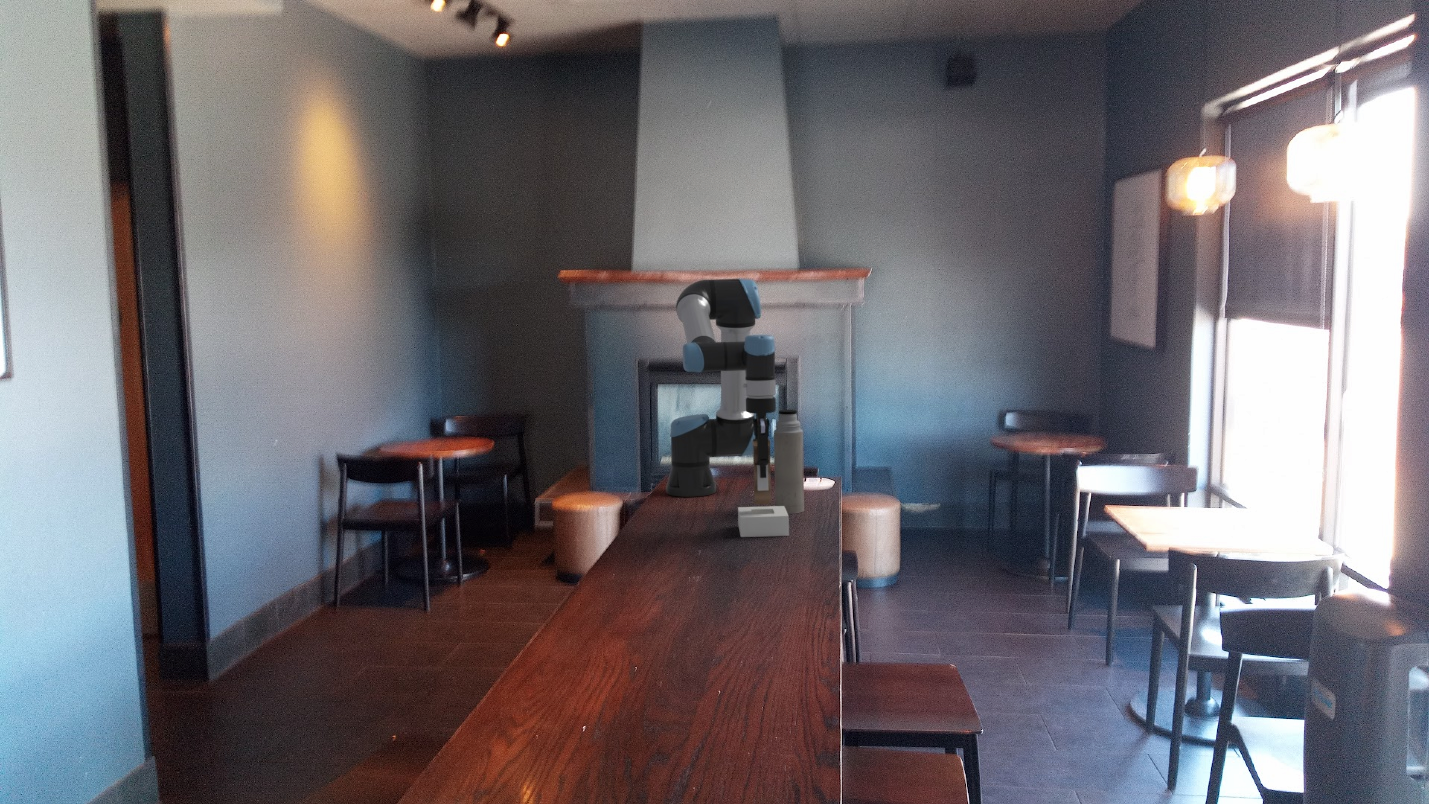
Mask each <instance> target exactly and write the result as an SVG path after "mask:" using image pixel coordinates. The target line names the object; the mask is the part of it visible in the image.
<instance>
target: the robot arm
mask: <svg viewBox="0 0 1429 804" xmlns="http://www.w3.org/2000/svg"><path fill="white" fill-rule="evenodd" d="M675 303H676V304H675V311H676V315H677V317H678V319H679V321H680V322H681V323H682V327H683V331H684V335H685V340H686V343H685V344H683V346H682V365H683V369H684V371H686V372H687V373H707V372H708V373H709V372H711V373H712V372H720V408H719V409H717V411H716V413H715V418H710V416H709V414H707V413H700V414H699V413H698V414H697V413H696V414H691V415H685V416H681V417H678V418H675V419H674V420H673V421H671V423H670V434H669V438H670V456H671V457H670V459H671V468H670V471H669V476H668V479H667V483H666V486H665V492H666V494H667V495H670V496H673V497H680V498H681V497H682V498H683V497H684V498H685V497H686V498H689V497H691V498H692V497H693V498H694V497H703V496H704V497H705V496H710V495H713V494H715V493H716V492H717V484H716V479H715V478H714V475H713V471H712V470H711V465H710V464H711V463H710V460H711V459H710V458H724V457H740V458H741V457H745V456H746V457H747V456H753V439H757V452H758V462H757V463H755V465H757V485H758V491H765V490H769V487H768V463H769V460H768V439H769V436H770V431H769V430H770V420H769V418H767V414H772V413H774V412H776V411H777V410H776V409H777V407H776V406H777V404H776V403H777V400H776V398H775V395H776V394H777V393H776V392H777V390H776V386H777V385H776V354H775V353H776V347H775V338H774V335H771V334H751V330H752V329H753V328H754V327H755V326H756V320H759V319H760V318H761V317H762V307H761V299H760V294H759V289H758V286H757V283H756V282H755V280H753V279H750V278H749V279H748V278H740V277H739V278H723V279H720V278H719V279H701V280H697V281H695V282H692V283H691V284H690V285H688V286H687V287H686V288H684V289H683V290H682V291H681V293H680V294H679V296H678V297H677V300H676V302H675ZM711 320H712V321H713V320H715V326H716V327H717V328H718V329H719V330H720V341H719V342H718V341H717V340H716V336H715V333H714V330H713V326H712V322H711Z"/></svg>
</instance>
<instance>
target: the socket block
mask: <svg viewBox="0 0 1429 804" xmlns="http://www.w3.org/2000/svg"><path fill="white" fill-rule="evenodd" d="M737 515H738V516H737V520H738V521H737V522H738V525H737V526H738V529H739V535H740V538H751V537H752V538H754V537H755V538H757V537H758V538H759V537H785V536H787V537H789V536H790V521H789V519H790V517H789V514H788V513H787V511H786V509H785V507H784V506H775V505H773V506H772V505H771V506H770V505H769V506H739V507H737Z"/></svg>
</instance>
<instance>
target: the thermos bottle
mask: <svg viewBox="0 0 1429 804" xmlns="http://www.w3.org/2000/svg"><path fill="white" fill-rule="evenodd" d="M778 414H779V416H778V420H777V422H776V423H775V424H776V426H775V428H776V429H775V430H774V431H773V460H774V461H773V462H774V463H773V465H774V466H773V467H774V506H784V507H785V509H786V511H787V513H788V515H791V514H800V513H803V512H804V511H805V487H804V486H805V485H804V482H805V480H804V476H805V475H804V430H803V429H801V421H799V420H798V415H797V414H798V411H797V410H796V409H781V410H778Z"/></svg>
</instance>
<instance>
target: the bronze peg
mask: <svg viewBox="0 0 1429 804" xmlns="http://www.w3.org/2000/svg"><path fill="white" fill-rule="evenodd" d="M752 456H753V457H752V459H753V461H752V462H753V463H752V464H753V501H754V505H771V504H772V487H771V485H772V484H771V483H772V481H771V480H772V479H771V478H772V477H771V440H770V439H769V438H768V460H769V463H768V487H769V490H765V491H758V485H757V465H755V463H757V462H758V452H757V439H753V454H752Z"/></svg>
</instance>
